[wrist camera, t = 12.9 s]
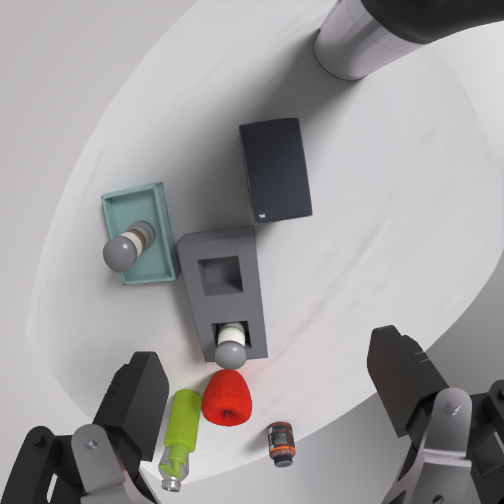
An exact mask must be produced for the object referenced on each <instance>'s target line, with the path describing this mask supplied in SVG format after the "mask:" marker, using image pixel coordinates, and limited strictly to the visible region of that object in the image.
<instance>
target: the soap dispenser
mask: <svg viewBox="0 0 504 504" xmlns="http://www.w3.org/2000/svg"><path fill="white" fill-rule="evenodd" d="M201 403H202V398H201V396H200V395H199V394H198V393H196V392H194V391H192V390H185V389H184V390H179V391H177V392H176V394H175V398H174V402H173V406H172V410H171V415H170V419H169V423H168V427H167V432H166V436H165V441H164V444H165V446H166V447H168V448H169V449H170V450H169V455H168V460H169V461H170V462H171V463H172V465H171V467H170V466H169V465H168V464H159V465H158V466H159V467H160V469H161V470H162V471H164V472H165V473H166V474H168V475H170V476H171V477H173V478H183V475H182V474H180V469H181V465H184V464H186V461H187V454H188V453H191V452H193V451H195V446H196V439H197V431H198V424H199V417H200V410H201Z"/></svg>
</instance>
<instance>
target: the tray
mask: <svg viewBox="0 0 504 504" xmlns="http://www.w3.org/2000/svg"><path fill="white" fill-rule="evenodd" d="M101 199H102V204H103V209H104V214H105V218H106V223H107V227H108V231H109V236H110V240H111V239H113V238H114V237H116V236H119V235H120V234H122V233H123V232H124V231H126V230H127V229H128V228H129V227H130V226H131V225H133V224H134V223H135V222H137V221H147V222H149V223H150V224H151V225H152V226H153V227H154V229H155V232H156V238H155V241H154V243H153V244H152V245H151V246H150V247H149V248H148V249H147V250H145V251H144V252H143V253H142V254H141V255H140V256H139V257H138V258H137V260H136V262H135V263H134V264H133V266H132V267H131V268H130V269H129V270H127V271H126V272H120V276H121V279H122V282H123V285H127V284H139V283H150V282H162V281H173V280H176V279H177V278H178V276H179V274H180V272H179V267H178V263H177V258H176V254H175V249H174V244H173V239H172V234H171V229H170V224H169V219H168V213H167V208H166V202H165V196H164V190H163V184H162V182H160V183H155V184H149V185H144V186H140V187H135V188H130V189H125V190H121V191H117V192H112V193H108V194H105V195H103V196H101Z"/></svg>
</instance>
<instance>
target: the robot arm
mask: <svg viewBox="0 0 504 504" xmlns="http://www.w3.org/2000/svg"><path fill="white" fill-rule="evenodd" d="M503 20H504V0H338V1H337V2H336V4H335V5H334V7H333V8H332V10H331V11H330V13H329V14H328V16H327V17H326V19H325V20H324V22H323V23H322V25H321V27H320V34H319V35H318V37H317V38H316V41H315V44H314V50H315V55H316V57H317V59H318V61H319V62H320V64H321V65H322V66H323V67H324V68H325V70H327V71H328V72H329V73H331V74H332V75H334V76H336V77H338V78H341V79H345V80H358V79H361V78H363V77H365V76H367V75H369V74H370V73H372V72H374V71H376V70H378V69H380V68H382V67H383V66H385V65H387V64H389V63H391V62H393V61H395V60H397V59H399V58H401V57H403V56H405V55H407V54H409V53H411V52H413V51H414V50H417V49H419V48H421V47H423V46H425V45H427V44H429V43H431V42H434V41H436V40H438V39H441V38H443V37H446V36H449V35H451V34H454V33H456V32H459V31H462V30H465V29H468V28H472V27H476V26H480V25H484V24H489V23H493V22H498V21H503ZM367 368H368V372H369V375H370V377H371V379H372V381H373V383H374V385H375V387H376V389H377V392H378V393H379V396H380V398H381V400H382V402H383V405H384V407H385V409H386V411H387V413H388V416H389V418H390V420H391V422H392V425H393V427H394V429H395V431H396V434H397V436H398V438H400V437H402V436H405V435H408V434H409V436H410V439H411V440H410V442H409V444H408V447H407V450H406V454H405V456H404V458H403V461H402V464H401V466H400V469H399V471H398V474H397V476H396V479H395V481H394V483H393V485H392V487H391V489H390V490H389V492H388V493H387V495H386V496H385V498H384V500H383V501H382V503H381V504H462V502H463V499H464V495H465V492H466V488H467V484H468V480H469V475H470V474H471V476H472V479H473V481H474V484H475V487H476V490H477V493H478V496H479V499H480V501H481V504H504V454H503V451H502V449H501V448H500V445H499V443H498V441H497V439H496V437H495V435H494V433H495V432H496V431H497V433H498V435H499V437H500V439H501V441H502V443H503V444H504V380H498V381H496V382H495V383H493V385H492V386H491V388H490V389H489V391H488V392H487V393H481V394H475V395H468V394H467V393H466V392H465V391H463V390H462V389H459V388H453V387H452V388H450V387H449V386H448V385H447V383H446V382H445V380H444V379H443V378H442V376H441V375H440V373H439V372H438V370H437V369H436V367H435V366H434V365H433V363H432V362H431V361H430V360H429V359H428V356H427V355H426V354H425V352H424V353H423V350H422V348H421V347H420V346H419V344H418V343H417V342H416V341H415V340H413V339H412V338H410V337H409V336H407V335H403V336H401V334H400V333H399V332H398V330H397V329H396V328H395V326H393V325H389V326H384V327H380V328H375V329H373V331H372V334H371V340H370V346H369V351H368V356H367ZM168 395H169V382H168V379H167V377H166V374H165V372H164V370H163V367H162V365H161V363H160V360H159V358H158V355H157V354H156V353H155V352H139V351H137V352H135V353H134V354H133V356H132V358H131V361H130V363H129V364H124V365H123V366H122V367H121V368H120V369H119V370H118V371H117V372H116V373H115V375H114V377H113V380H112V382H111V385H110V386H109V388H108V390H107V393H106V394H105V396H104V398H103V401H102V403H101V405H100V407H99V409H98V411H97V414H96V416H95V418H94V420H93V422H92V424H87V425H84V426H82V427H80V428H78V429H77V430H76V431H75V433H74V434H73V435H63V436H55V435H54V434H53V433H52V432H51V431H50V429H48V428H47V427H45V426H37V427H35V428H33V429H32V430H30V431H29V433H28V434H27V436H26V438H25V440H24V443H23V444H22V447H21V449H20V451H19V454H18V456H17V458H16V461H15V463H14V466H13V468H12V471H11V474H10V476H9V479H8V482H7V484H6V487H5V490H4V493H3V496H2V499H1V503H0V504H161V502H160V501H159V499H158V498H157V496H156V494H155V493H154V491H153V490H152V488H151V486H150V485H149V483H148V481H147V479H146V478H145V476H144V474H143V472H142V471H141V469H140V468H139V466H140V462H141V460H142V461H149V462H152V459H153V454H154V450H155V446H156V442H157V438H158V434H159V430H160V426H161V422H162V418H163V414H164V410H165V406H166V402H167V399H168ZM53 473H54V474H55V475H57V476H58V477H57V480H56V484H55V487H54V490H53V493H52V497H51V501H50V503H48V501H47V492H48V489H49V486H50V482H51V479H52V476H53Z"/></svg>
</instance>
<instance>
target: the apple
mask: <svg viewBox="0 0 504 504" xmlns="http://www.w3.org/2000/svg"><path fill="white" fill-rule="evenodd" d="M201 408H202V412H203V415H204V417H205V418H206V419H207V420H208V421H209V422H212V423H214V424H216V425H222V426H228V427H230V426H236V425H239V424H242V423H245V422H246V421H247V420H248V419H249V418H250V416H251V413H252V400H251V396H250V392H249V389H248V386H247V384H246V382H245V380H244V378H243V377H242V376H241V375H240V374H239V373H238V372H237V371H235V370H229V369H225V370H221V371H219V372H217V373H216V374H215V375H214V376H213V377H212V379H211V380H210V382H209V384H208V386H207V388H206V390H205V392H204V395H203V399H202V407H201Z"/></svg>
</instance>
